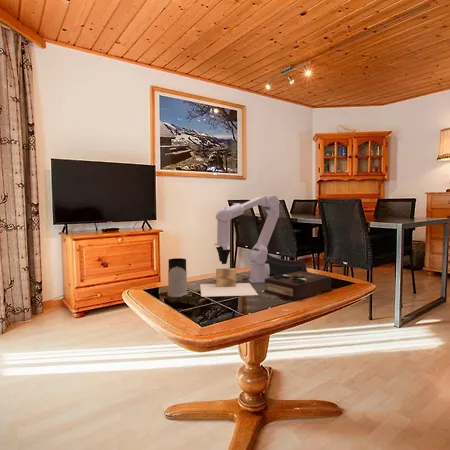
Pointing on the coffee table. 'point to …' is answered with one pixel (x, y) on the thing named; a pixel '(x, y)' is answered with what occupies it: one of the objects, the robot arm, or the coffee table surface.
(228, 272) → the tile
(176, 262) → the glass holder
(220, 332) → the coffee table surface
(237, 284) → the mat
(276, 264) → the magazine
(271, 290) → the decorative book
